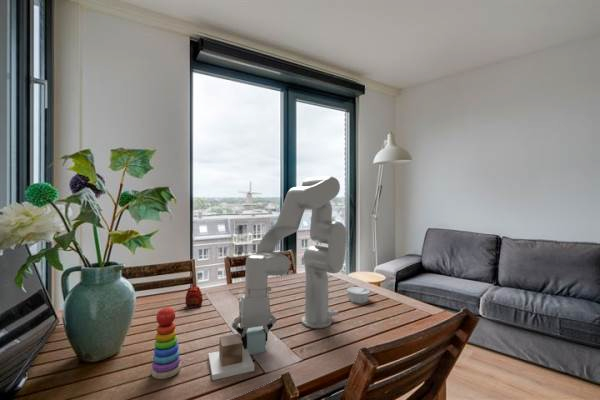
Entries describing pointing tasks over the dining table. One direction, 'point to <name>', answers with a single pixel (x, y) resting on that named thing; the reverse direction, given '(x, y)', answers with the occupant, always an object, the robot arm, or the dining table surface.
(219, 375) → the base board
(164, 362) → the stacking toy
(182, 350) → the dining table surface
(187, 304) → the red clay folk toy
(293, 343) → the dining table surface
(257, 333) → the teal block
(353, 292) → the ramekin
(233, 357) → the walnut block
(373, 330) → the dining table surface
